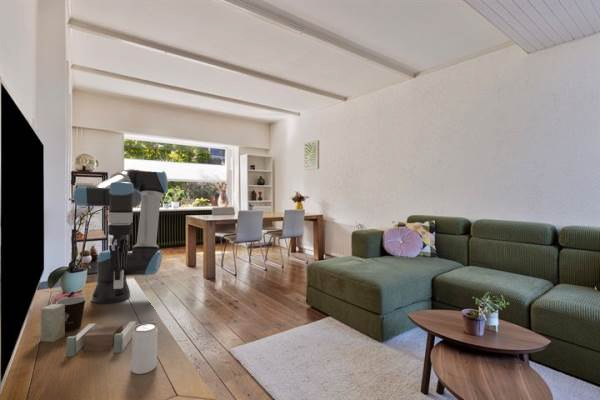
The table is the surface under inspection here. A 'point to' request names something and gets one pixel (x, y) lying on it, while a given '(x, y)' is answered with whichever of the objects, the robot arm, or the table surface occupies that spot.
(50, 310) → the box
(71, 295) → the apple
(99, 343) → the block
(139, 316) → the table surface
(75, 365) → the table surface
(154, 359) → the can
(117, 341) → the chute
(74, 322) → the coffee mug
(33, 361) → the table surface
